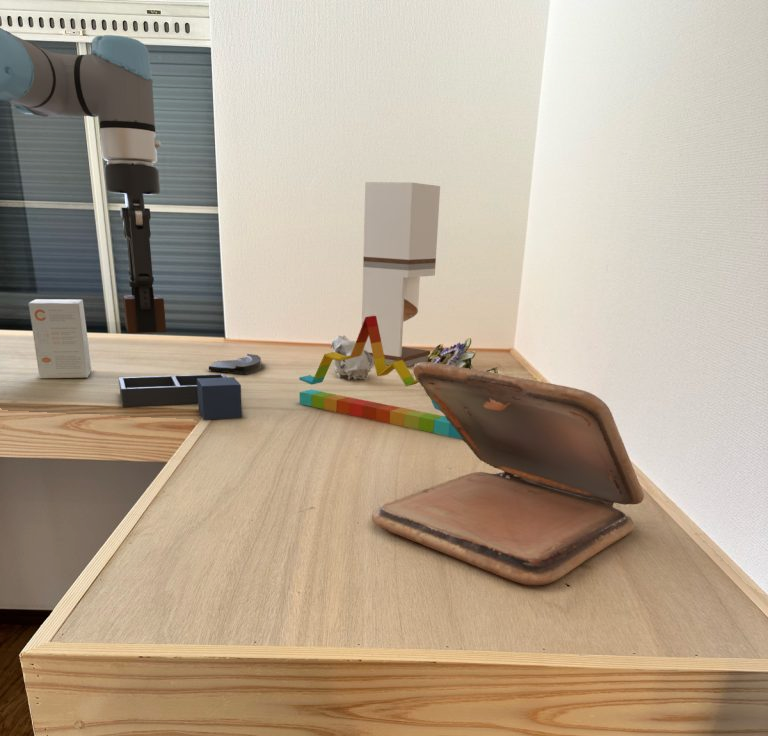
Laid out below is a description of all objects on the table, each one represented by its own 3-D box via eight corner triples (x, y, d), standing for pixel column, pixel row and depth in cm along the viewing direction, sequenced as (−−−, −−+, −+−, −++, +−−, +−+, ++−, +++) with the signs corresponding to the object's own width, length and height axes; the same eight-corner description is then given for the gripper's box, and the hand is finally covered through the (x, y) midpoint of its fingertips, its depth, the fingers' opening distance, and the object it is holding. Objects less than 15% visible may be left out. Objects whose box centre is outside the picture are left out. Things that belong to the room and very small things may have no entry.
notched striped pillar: (403, 367, 151) (412, 182, 138) (360, 360, 156) (365, 182, 143) (429, 360, 160) (440, 186, 147) (388, 354, 165) (395, 185, 152)
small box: (92, 371, 135) (83, 298, 130) (87, 378, 130) (79, 302, 125) (44, 371, 133) (34, 298, 129) (38, 379, 128) (27, 302, 123)
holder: (122, 407, 112) (121, 389, 111) (120, 394, 119) (118, 377, 118) (234, 401, 118) (233, 384, 117) (225, 389, 125) (224, 373, 124)
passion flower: (433, 425, 129) (411, 364, 131) (487, 410, 132) (465, 351, 134) (453, 402, 119) (429, 336, 120) (511, 387, 122) (487, 322, 123)
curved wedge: (277, 363, 149) (277, 355, 149) (245, 375, 137) (245, 366, 137) (240, 360, 152) (240, 352, 151) (206, 371, 140) (206, 362, 139)
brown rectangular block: (128, 333, 110) (124, 299, 108) (126, 327, 115) (122, 295, 113) (166, 332, 112) (163, 298, 110) (162, 327, 117) (160, 294, 115)
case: (646, 528, 74) (676, 371, 68) (540, 597, 59) (566, 404, 53) (481, 478, 87) (493, 342, 81) (359, 526, 72) (363, 363, 66)
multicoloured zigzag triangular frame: (474, 434, 105) (484, 328, 99) (464, 439, 102) (473, 330, 97) (312, 400, 120) (312, 307, 115) (299, 404, 118) (299, 308, 112)
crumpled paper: (345, 370, 132) (325, 318, 136) (335, 397, 140) (316, 347, 144) (384, 365, 135) (364, 314, 139) (372, 392, 143) (353, 343, 147)
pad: (203, 420, 107) (202, 386, 105) (198, 410, 111) (196, 378, 109) (242, 417, 108) (240, 384, 107) (235, 408, 113) (233, 377, 111)
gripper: (164, 162, 98) (177, 336, 107) (152, 168, 114) (164, 320, 123) (105, 158, 96) (123, 337, 104) (101, 166, 112) (117, 320, 120)
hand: (145, 328), depth 114 cm, fingers closed on brown rectangular block, 6 cm apart
